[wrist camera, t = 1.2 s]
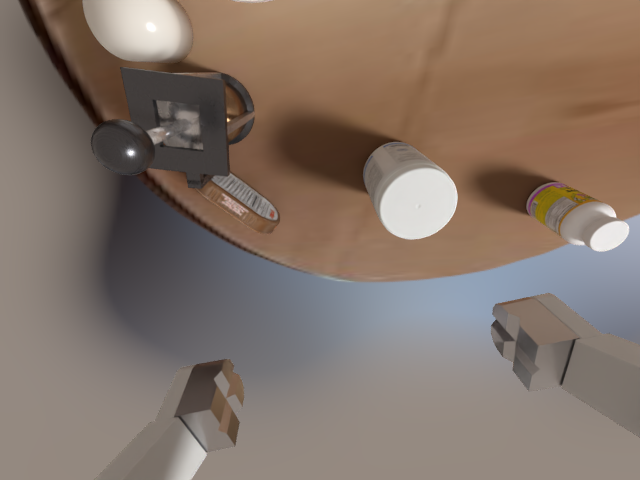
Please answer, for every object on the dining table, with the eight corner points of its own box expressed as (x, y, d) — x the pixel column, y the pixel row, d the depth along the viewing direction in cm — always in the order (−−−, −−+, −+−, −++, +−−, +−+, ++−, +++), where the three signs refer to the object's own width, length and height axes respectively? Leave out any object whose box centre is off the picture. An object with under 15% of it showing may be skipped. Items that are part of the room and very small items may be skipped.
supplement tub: (387, 208, 50) (408, 255, 37) (350, 171, 47) (359, 208, 34) (434, 169, 47) (475, 206, 34) (397, 125, 43) (428, 148, 31)
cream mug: (203, 54, 39) (172, 50, 31) (152, 69, 40) (111, 69, 32) (169, -36, 34) (124, -67, 27) (113, -16, 35) (54, -40, 28)
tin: (200, 166, 47) (177, 184, 40) (210, 151, 46) (188, 167, 38) (275, 220, 52) (267, 245, 44) (286, 208, 50) (279, 231, 43)
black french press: (184, 68, 40) (120, 67, 27) (254, 77, 40) (222, 80, 28) (194, 157, 46) (145, 190, 33) (254, 164, 46) (229, 198, 34)
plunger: (149, 84, 30) (37, 93, 18) (216, 93, 30) (148, 107, 18) (160, 151, 33) (73, 194, 22) (220, 158, 33) (165, 204, 22)
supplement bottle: (575, 193, 48) (649, 230, 37) (541, 223, 51) (600, 265, 40) (549, 173, 47) (619, 205, 36) (515, 205, 50) (571, 243, 38)
